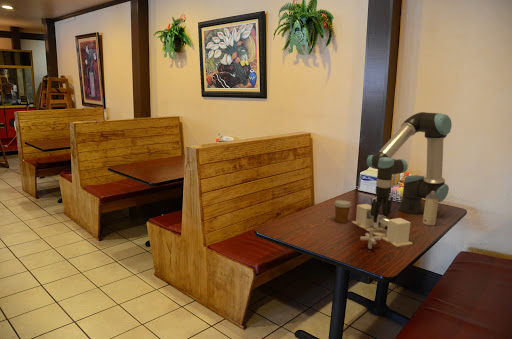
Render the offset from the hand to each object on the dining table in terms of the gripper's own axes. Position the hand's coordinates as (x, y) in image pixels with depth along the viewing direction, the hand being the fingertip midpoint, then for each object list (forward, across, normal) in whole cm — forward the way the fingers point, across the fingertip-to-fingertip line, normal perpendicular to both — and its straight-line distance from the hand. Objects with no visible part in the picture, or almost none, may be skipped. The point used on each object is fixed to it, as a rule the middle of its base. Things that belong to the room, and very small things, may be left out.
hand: (379, 227), depth 205 cm
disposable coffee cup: (+3, +10, -20) cm, 23 cm away
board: (+3, 0, +1) cm, 3 cm away
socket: (+3, 0, +14) cm, 14 cm away
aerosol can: (+3, -37, 0) cm, 37 cm away
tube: (-3, 0, 0) cm, 3 cm away
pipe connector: (+3, +19, +16) cm, 25 cm away
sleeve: (+3, 0, -12) cm, 12 cm away
